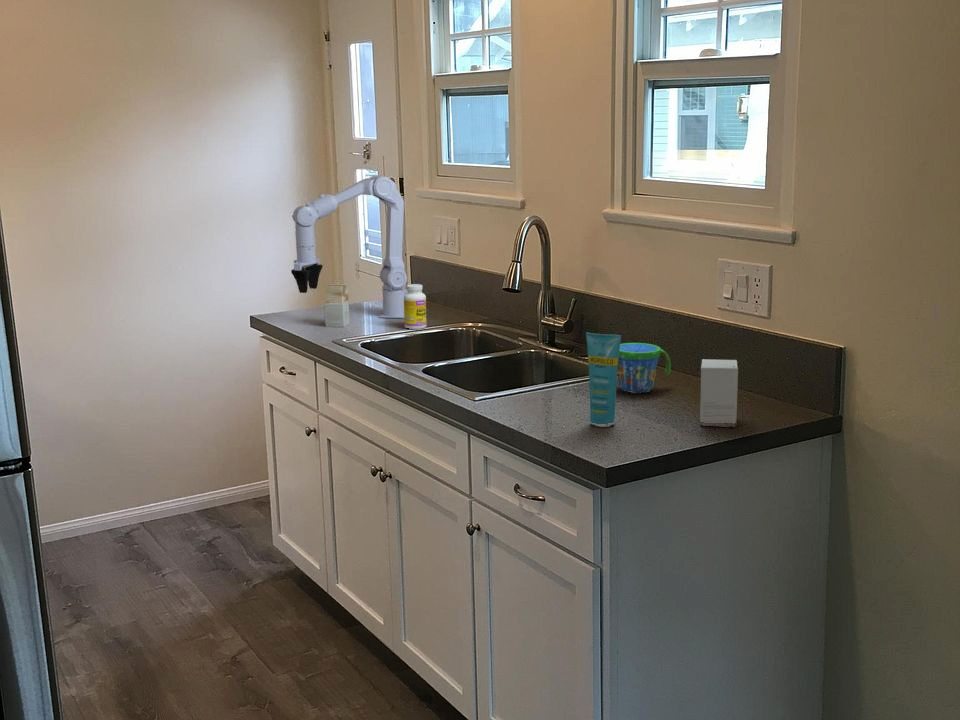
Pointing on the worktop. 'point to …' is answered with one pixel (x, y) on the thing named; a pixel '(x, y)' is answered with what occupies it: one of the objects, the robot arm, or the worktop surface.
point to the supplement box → (719, 391)
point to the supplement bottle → (415, 307)
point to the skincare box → (337, 314)
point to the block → (337, 293)
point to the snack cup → (639, 366)
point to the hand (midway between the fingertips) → (308, 290)
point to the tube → (603, 376)
